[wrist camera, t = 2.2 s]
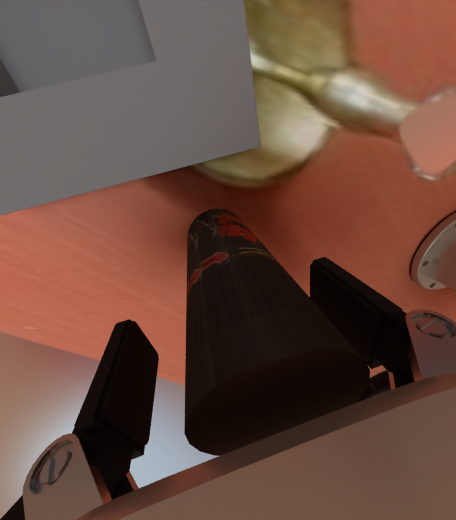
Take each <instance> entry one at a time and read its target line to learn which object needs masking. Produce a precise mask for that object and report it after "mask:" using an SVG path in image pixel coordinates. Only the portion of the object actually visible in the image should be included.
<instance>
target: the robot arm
mask: <svg viewBox="0 0 456 520" xmlns="http://www.w3.org/2000/svg"><path fill="white" fill-rule="evenodd" d="M411 276H412V278H413V281H414V282H415V283H416V284H418V285H420V286H421V287H423V288H425V289H429V290H436V289H442V288H446V287H449V288H451V289H453V290H455V291H456V212H455V213H454V214H452V215H451V216H449V217H448V218H447V219H445V220H444V221H443V222H441V223H440V224H439V225H438V226H437V227H436V228H435V229H434V230H433V231H432V232H431V233H430V234H429V235H428V237H427V238H426V239H425V240H424V242H423V243H422V245H421V246H420V247H419V249H418V251H417V253H416V255H415V257H414V260H413V262H412V267H411ZM310 299H311V300H312V301H313V302H314V303H315V304H316V305H317V307H318V308H319V309H320V310H321V311H322V312H323V313H324V315H325V316H326V317H327V318H328V319H329V320H330V321H331V323H332V324H333V325H334V326H335V327H336V328H337V329H338V330H339V332H340V333H341V334H342V335H343V336H344V337H345V338H346V340H347V341H348V342H349V343H350V344H351V345H352V346H353V347H354V349H355V350H356V351H357V352H358V353H359V354H360V355H361V357H362V358H363V359H364V360H365V362H366V364H367V365H368V366H369V367H370V368H371V369H373V368H375V367H378V366H381V365H383V366H384V367H385V368H386V370H387V371H388V373H389V379H390V386H391V390H390V391H387V392H385V393H382V394H379V395H376V396H373V397H371V398H368V399H366V400H363V401H360V402H358V403H355V404H353V405H350V406H347V407H345V408H342V409H340V410H337V411H334V412H332V413H329V414H327V415H324V416H321V417H319V418H316V419H313V420H311V421H308V422H306V423H303V424H301V425H298V426H295V427H293V428H290V429H288V430H285V431H283V432H280V433H277V434H275V435H272V436H270V437H267V438H265V439H262V440H260V441H257V442H254V443H252V444H249V445H247V446H244V447H242V448H239V449H237V450H234V451H231V452H229V453H226V454H224V455H221V456H219V457H216V458H214V459H211V460H209V461H206V462H204V463H201V464H199V465H196V466H194V467H191V468H189V469H186V470H183V471H181V472H178V473H176V474H174V475H171V476H168V477H166V478H163V479H161V480H159V481H156V482H154V483H151V484H149V485H147V486H144V487H142V488H138V486H137V484H136V483H135V481H134V479H133V477H132V475H131V473H130V471H129V469H130V463H131V460H132V459H134V458H137V457H139V456H142V455H144V448H145V445H146V444H147V443H148V440H149V435H150V427H151V419H152V410H153V402H154V393H155V385H156V377H157V369H158V360H159V358H158V353H157V352H156V350H155V349H154V347H153V346H152V344H151V343H150V342H149V340H148V339H147V337H146V336H145V334H144V333H143V332H142V330H141V329H140V327H139V326H138V324H137V323H136V322H135V321H131V320H126V321H122V322H119V323H117V324H116V325H115V327H114V329H113V332H112V334H111V337H110V339H109V342H108V344H107V347H106V349H105V351H104V354H103V356H102V359H101V361H100V364H99V366H98V369H97V371H96V374H95V376H94V379H93V381H92V383H91V386H90V388H89V391H88V394H87V396H86V398H85V401H84V403H83V405H82V408H81V410H80V413H79V415H78V418H77V420H76V423H75V425H74V426H75V428H74V430H73V432H72V434H66V435H63V436H61V437H60V438H58V439H56V440H55V441H54V442H53V443H51V444H50V445H49V446H48V447H47V448H46V449H45V450H44V452H43V453H42V454H41V455H40V456H39V457H38V459H37V460H36V462H35V463H34V464H33V466H32V468H31V469H30V471H29V473H28V475H27V477H26V480H25V483H24V486H23V495H22V496H21V497H20V498H19V500H18V501H17V502H16V503H15V504H14V505H13V506H12V507H11V508H10V509H9V511H8V512H7V513H6V514H5V515H4V516H3V517H2V518H1V519H0V520H456V322H454V321H453V320H452V319H450V318H448V317H446V316H444V315H442V314H439V313H437V312H433V311H429V310H412V311H410V312H408V313H407V314H406V313H405V312H403V311H402V309H401V308H400V307H398V306H397V305H396V304H394V303H393V302H391V301H390V300H388V299H387V298H385V297H384V296H382V295H381V294H379V293H378V292H376V291H375V290H373V289H372V288H370V287H369V286H368V285H366V284H365V283H363V282H362V281H360V280H359V279H357V278H356V277H354V276H353V275H351V274H350V273H348V272H347V271H345V270H344V269H343V268H341V267H340V266H338V265H337V264H335V263H334V262H332V261H331V260H329V259H328V258H326V257H322V258H319V259H316V260H314V261H313V263H312V264H311V265H310Z"/></svg>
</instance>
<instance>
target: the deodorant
mask: <svg viewBox="0 0 456 520" xmlns="http://www.w3.org/2000/svg"><path fill="white" fill-rule="evenodd" d="M369 377H370V369H369V368H368V366H367V364H366V362H365V360H364V359H363V358H362V357H361V355H360V354H359V353H358V352H357V351H356V350H355V349H354V347H353V346H352V345H351V344H350V343H349V342H348V341H347V340H346V338H345V337H344V336H343V335H342V334H341V333H340V332H339V330H338V329H337V328H336V327H335V326H334V325H333V324H332V323H331V321H330V320H329V319H328V318H327V317H326V316H325V315H324V313H323V312H322V311H321V310H320V309H319V308H318V307H317V305H316V304H315V303H314V302H313V301H312V300H311V299H310V298H309V296H308V295H307V294H306V293H305V292H304V291H303V290H302V288H301V287H300V286H299V285H298V284H297V283H296V282H295V281H294V279H293V278H292V277H291V276H290V275H289V274H288V273H287V271H286V270H285V269H284V268H283V267H282V266H281V265H280V264H279V262H278V261H277V260H276V259H275V258H274V257H273V256H272V254H271V253H270V252H269V251H268V250H267V249H266V248H265V247H264V245H263V244H262V243H261V242H260V241H259V240H258V239H257V237H256V236H255V235H254V234H253V233H252V232H251V231H250V229H249V228H248V227H247V226H246V225H245V224H244V223H243V222H242V220H241V219H240V218H239V217H238V216H236V215H235V214H234V213H232V212H230V211H228V210H224V209H213V210H208V211H206V212H204V213H202V214H200V215H199V216H198V217H197V218H196V219H195V220H194V221H193V223H192V224H191V226H190V229H189V231H188V246H187V310H186V375H185V435H186V437H187V439H188V441H189V444H190V445H192V446H193V447H195V448H196V449H198V450H199V451H201V452H204V453H208V454H212V455H217V456H221V455H224V454H226V453H229V452H231V451H234V450H237V449H239V448H242V447H244V446H247V445H249V444H252V443H254V442H257V441H260V440H262V439H265V438H267V437H270V436H272V435H275V434H277V433H280V432H283V431H285V430H288V429H290V428H293V427H295V426H298V425H301V424H303V423H306V422H308V421H311V420H313V419H316V418H319V417H321V416H324V415H327V414H329V413H332V412H334V411H337V410H340V409H342V408H345V407H347V406H350V405H353V404H355V403H356V402H357V401H358V400H359V399H360V398H361V397H362V395H363V394H364V392H365V390H366V388H367V386H368V384H369Z"/></svg>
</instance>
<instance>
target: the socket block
mask: <svg viewBox="0 0 456 520" xmlns="http://www.w3.org/2000/svg"><path fill="white" fill-rule="evenodd" d="M258 147H261V144H260V135H259V127H258V118H257V110H256V101H255V92H254V84H253V75H252V67H251V58H250V50H249V41H248V33H247V24H246V15H245V7H244V0H0V215H4V214H8V213H12V212H15V211H19V210H23V209H27V208H31V207H34V206H38V205H42V204H46V203H49V202H53V201H57V200H61V199H65V198H68V197H72V196H76V195H80V194H84V193H87V192H91V191H95V190H99V189H102V188H106V187H110V186H114V185H118V184H121V183H125V182H129V181H133V180H137V179H140V178H144V177H148V176H152V175H156V174H159V173H163V172H167V171H171V170H174V169H178V168H182V167H186V166H190V165H193V164H197V163H201V162H205V161H209V160H212V159H216V158H220V157H224V156H227V155H231V154H235V153H239V152H243V151H246V150H250V149H254V148H258Z"/></svg>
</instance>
